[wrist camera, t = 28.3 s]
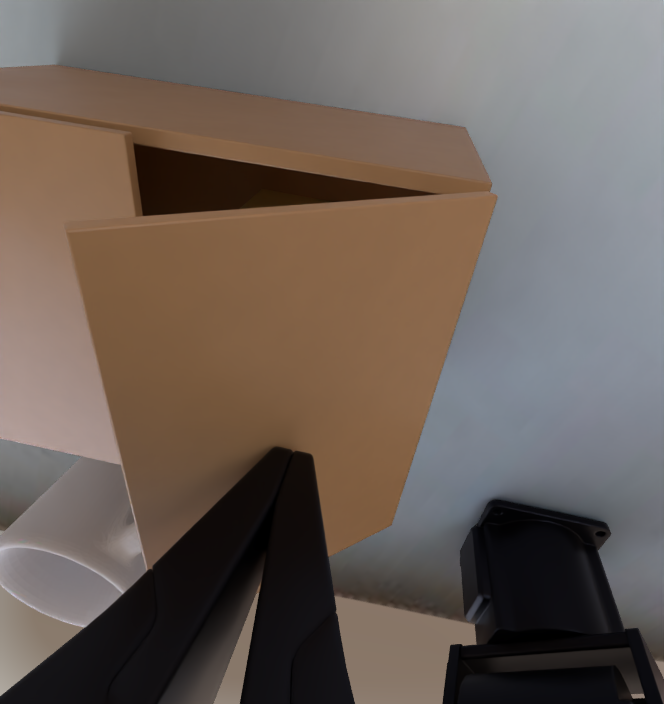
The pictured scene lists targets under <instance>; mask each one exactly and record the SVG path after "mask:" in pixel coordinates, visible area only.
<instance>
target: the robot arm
mask: <svg viewBox="0 0 664 704" xmlns="http://www.w3.org/2000/svg"><path fill="white" fill-rule="evenodd" d="M610 535H611V532H610V529H609V527H608V525H607V524H606V523H604V522H600V521H595V520H591V519H586V518H581V517H577V516H572V515H567V514H562V513H558V512H553V511H548V510H544V509H539V508H534V507H529V506H525V505H520V504H515V503H511V502H506V501H501V500H492V501H490V502H489V503H488V504H487V506H486V508H485V510H484V512H483V514H482V516H481V518H480V520H479V522H478V524H477V526H476V525H475V526H474V527H473V528H472V529H471V530H470V532H469V534H468V536H467V538H466V540H465V542H464V544H463V546H462V548H461V550H460V566H461V572H462V586H463V601H464V616H465V618H466V619H467V621H468V622H471V623H475V631H476V642H477V645H468V646H462V644H455V645H451V646H450V652H449V660H448V663H447V670H446V679H445V687H444V696H443V704H664V679H663V676H662V674H661V672H660V670H659V669H658V666H657V664H656V662H655V660H654V658H653V656H652V654H651V652H650V650H649V648H648V646H647V644H646V642H645V640H644V638H643V637H642V635H641V633H640V631H639V629H638V628H631V629H625V630H624V627H623V624H622V621H621V618H620V615H619V612H618V609H617V606H616V603H615V600H614V597H613V594H612V591H611V588H610V585H609V582H608V579H607V577H606V574H605V571H604V568H603V565H602V562H601V559H600V556H599V553H598V550H599V549H600V547H601V546H602V545H603V544H604V543H605V541H606V540H607V539H608V538H609V537H610ZM152 570H153V571H152ZM260 582H261V586H260V592H259V597H258V604H257V609H256V615H255V621H254V626H253V632H252V638H251V643H250V649H249V655H248V660H247V666H246V672H245V677H244V683H243V689H242V695H241V700H240V704H355V702H354V698H353V694H352V690H351V686H350V681H349V677H348V673H347V669H346V664H345V658H344V652H343V647H342V641H341V636H340V630H339V622H338V616H337V614H336V605H335V597H334V591H333V584H332V577H331V571H330V564H329V557H328V551H327V544H326V538H325V531H324V524H323V518H322V511H321V504H320V498H319V491H318V485H317V478H316V471H315V465H314V458H313V455H312V454H310V453H306V452H301V451H294V452H293V451H292V450H291V449H287V448H283V447H278V446H276V447H273V448H272V449H271V450H270V451H269V452H268V453H267V454H266V455H265V456H264V457H263V458H262V459H261V460H260V461H259V462H258V463H257V464H256V465H255V466H254V467H253V468H252V469H251V470H250V471H249V472H247V473H246V474H245V475H244V476H243V477H242V478H241V479H240V480H239V481H238V482H237V483H236V484H235V485H234V486H233V487H232V488H231V489H230V490H229V491H228V492H227V493H226V494H225V495H224V496H223V497H222V498H221V499H220V500H219V501H218V502H217V503H216V504H215V505H214V506H213V507H212V508H211V509H210V510H209V511H208V512H207V513H206V514H205V515H204V516H203V517H202V518H201V519H200V520H198V521H197V522H196V523H195V524H194V525H193V526H192V527H191V528H190V529H189V530H188V531H187V532H186V533H185V534H184V535H183V536H182V537H181V538H180V539H179V540H178V541H177V542H176V543H175V544H174V545H173V546H172V547H171V548H170V549H169V550H168V551H167V552H166V553H165V554H164V555H163V556H162V557H161V558H160V559H159V560H158V561H157V562H156V563H155V564H154V565H153V566H152V569H148V570H147V571H146V572H145V573H144V574H143V575H142V576H141V577H140V578H139V579H138V580H137V581H136V582H135V583H134V584H133V585H132V586H131V587H130V588H129V589H128V590H127V591H125V592H124V593H123V594H122V595H121V596H120V597H119V598H118V599H117V600H116V601H115V602H114V603H113V604H112V605H110V606H109V607H108V608H107V609H106V610H105V611H104V612H103V613H101V614H100V615H99V616H98V617H97V618H95V619H94V620H93V621H92V622H91V623H90V624H88V625H87V626H86V627H85V628H84V629H82V630H81V631H80V632H79V633H78V634H76V635H75V636H74V637H73V638H72V639H70V640H69V641H68V642H67V643H65V644H64V645H63V646H62V647H60V648H59V649H58V650H57V651H56V652H54V653H53V654H52V655H51V656H49V657H48V658H47V659H46V660H44V661H43V662H42V663H41V664H40V665H38V666H37V667H36V668H35V669H33V670H32V671H31V672H30V673H28V674H27V675H26V676H25V677H24V678H22V679H21V680H20V681H19V682H17V683H16V684H15V685H14V686H12V687H11V688H10V689H9V690H7V691H6V692H5V693H4V694H3V695H1V696H0V704H213V703H214V700H215V698H216V695H217V692H218V690H219V688H220V685H221V682H222V680H223V677H224V675H225V672H226V670H227V667H228V664H229V662H230V659H231V657H232V654H233V651H234V649H235V646H236V644H237V641H238V639H239V636H240V634H241V631H242V628H243V626H244V623H245V621H246V618H247V616H248V613H249V610H250V608H251V605H252V603H253V600H254V598H255V595H256V593H257V590H258V587H259V585H260ZM631 694H644V696H645V698H641V699H640V698H638V699H633V698H632V696H631Z"/></svg>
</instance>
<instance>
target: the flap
mask: <svg viewBox="0 0 664 704" xmlns="http://www.w3.org/2000/svg"><path fill="white" fill-rule="evenodd" d="M497 198H498V196H497V195H496V194H493V193H491V192H488V191H482V192H469V193H455V194H441V195H427V196H414V197H400V198H386V199H373V200H359V201H345V202H331V203H318V204H304V205H290V206H277V207H263V208H249V209H235V210H222V211H208V212H194V213H181V214H167V215H153V216H139V217H126V218H112V219H98V220H85V221H71V222H64V224H63V227H64V231H65V235H66V239H67V243H68V247H69V252H70V256H71V260H72V264H73V268H74V272H75V277H76V281H77V285H78V289H79V293H80V297H81V301H82V306H83V310H84V314H85V318H86V322H87V326H88V331H89V335H90V339H91V343H92V347H93V351H94V356H95V360H96V364H97V368H98V372H99V376H100V380H101V385H102V389H103V393H104V397H105V401H106V405H107V410H108V414H109V418H110V422H111V426H112V430H113V435H114V439H115V443H116V447H117V451H118V455H119V459H120V464H121V468H122V472H123V476H124V480H125V484H126V489H127V493H128V497H129V501H130V505H131V509H132V513H133V518H134V522H135V526H136V530H137V534H138V538H139V543H140V547H141V551H142V555H143V559H144V563H145V568H146V571H147V570H148V569H152V566H153V565H154V564H155V563H156V562H157V561H158V560H159V559H160V558H161V557H162V556H163V555H164V554H165V553H166V552H167V551H168V550H169V549H170V548H171V547H172V546H173V545H174V544H175V543H176V542H177V541H178V540H179V539H180V538H181V537H182V536H183V535H184V534H185V533H186V532H187V531H188V530H189V529H190V528H191V527H192V526H193V525H194V524H195V523H196V522H197V521H198V520H200V519H201V518H202V517H203V516H204V515H205V514H206V513H207V512H208V511H209V510H210V509H211V508H212V507H213V506H214V505H215V504H216V503H217V502H218V501H219V500H220V499H221V498H222V497H223V496H224V495H225V494H226V493H227V492H228V491H229V490H230V489H231V488H232V487H233V486H234V485H235V484H236V483H237V482H238V481H239V480H240V479H241V478H242V477H243V476H244V475H245V474H246V473H247V472H249V471H250V470H251V469H252V468H253V467H254V466H255V465H256V464H257V463H258V462H259V461H260V460H261V459H262V458H263V457H264V456H265V455H266V454H267V453H268V452H269V451H270V450H271V449H272V448H273V447H276V446H278V447H283V448H287V449H291V450H292V451H293V452H294V451H301V452H306V453H310V454H312V455H313V458H314V465H315V471H316V478H317V485H318V491H319V498H320V504H321V511H322V518H323V524H324V531H325V538H326V544H327V551H328V557H330V556H332V555H334V554H336V553H338V552H340V551H342V550H343V549H345V548H347V547H349V546H351V545H353V544H355V543H357V542H359V541H361V540H363V539H365V538H367V537H369V536H371V535H373V534H375V533H377V532H379V531H381V530H383V529H385V528H387V527H389V526H391V525H392V522H393V519H394V516H395V513H396V510H397V507H398V504H399V500H400V497H401V494H402V491H403V488H404V485H405V482H406V479H407V476H408V473H409V470H410V466H411V463H412V460H413V457H414V454H415V451H416V448H417V445H418V442H419V439H420V436H421V432H422V429H423V426H424V423H425V420H426V417H427V414H428V411H429V408H430V405H431V402H432V398H433V395H434V392H435V389H436V386H437V383H438V380H439V377H440V374H441V371H442V368H443V364H444V361H445V358H446V355H447V352H448V349H449V346H450V343H451V340H452V337H453V334H454V330H455V327H456V324H457V321H458V318H459V315H460V312H461V309H462V306H463V303H464V300H465V296H466V293H467V290H468V287H469V284H470V281H471V278H472V275H473V272H474V269H475V266H476V262H477V259H478V256H479V253H480V250H481V247H482V244H483V241H484V238H485V235H486V232H487V228H488V225H489V222H490V219H491V216H492V213H493V210H494V207H495V204H496V201H497ZM152 571H153V570H152ZM260 586H261V582H260V585H259V587H258V590H257V593H259V592H260ZM257 593H256V594H257Z"/></svg>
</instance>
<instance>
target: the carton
mask: <svg viewBox="0 0 664 704" xmlns="http://www.w3.org/2000/svg"><path fill="white" fill-rule="evenodd" d="M491 187H492V182H491V180H490V178H489V176H488V173H487V171H486V169H485V167H484V165H483V163H482V161H481V159H480V157H479V155H478V152H477V150H476V148H475V146H474V144H473V142H472V140H471V138H470V136H469V134H468V131H467V130H466V128H465V127H461V126H454V125H448V124H441V123H435V122H428V121H421V120H415V119H408V118H402V117H395V116H389V115H382V114H375V113H369V112H362V111H356V110H349V109H343V108H336V107H329V106H323V105H316V104H310V103H303V102H297V101H290V100H283V99H277V98H270V97H264V96H257V95H251V94H244V93H237V92H231V91H224V90H218V89H211V88H205V87H198V86H192V85H185V84H178V83H172V82H165V81H159V80H152V79H146V78H139V77H132V76H126V75H119V74H113V73H106V72H100V71H93V70H86V69H80V68H73V67H67V66H60V65H40V66H23V67H6V68H0V438H1V439H5V440H10V441H14V442H19V443H23V444H28V445H32V446H37V447H41V448H46V449H51V450H55V451H60V452H64V453H69V454H73V455H78V456H82V457H87V458H91V459H96V460H101V461H105V462H110V463H114V464H119V465H121V464H120V459H119V455H118V451H117V447H116V443H115V439H114V435H113V430H112V426H111V422H110V418H109V414H108V410H107V405H106V401H105V397H104V393H103V389H102V385H101V380H100V376H99V372H98V368H97V364H96V360H95V356H94V351H93V347H92V343H91V339H90V335H89V331H88V326H87V322H86V318H85V314H84V310H83V306H82V301H81V297H80V293H79V289H78V285H77V281H76V277H75V272H74V268H73V264H72V260H71V256H70V252H69V247H68V243H67V239H66V235H65V231H64V227H63V224H64V222H71V221H85V220H98V219H112V218H126V217H139V216H153V215H167V214H181V213H194V212H208V211H222V210H235V209H240V208H241V207H242V206H243V205H244V204H245V203H247V202H248V201H249V200H250V199H251V198H252V197H253V196H254V195H256V194H257V193H258V192H259V191H260V190H261V189H266V190H272V191H277V192H282V193H288V194H293V195H298V196H304V197H309V198H314V199H320V200H325V201H330V202H345V201H359V200H373V199H386V198H400V197H414V196H427V195H441V194H455V193H469V192H482V191H488V192H490V190H491Z"/></svg>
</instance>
